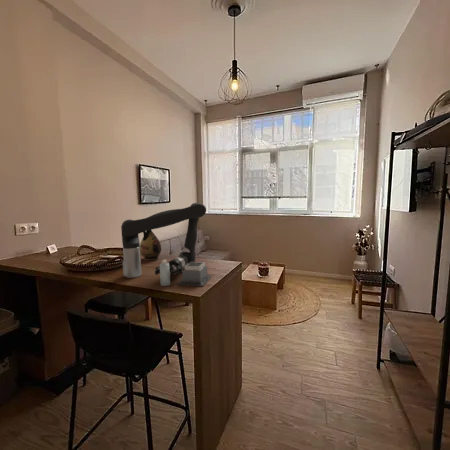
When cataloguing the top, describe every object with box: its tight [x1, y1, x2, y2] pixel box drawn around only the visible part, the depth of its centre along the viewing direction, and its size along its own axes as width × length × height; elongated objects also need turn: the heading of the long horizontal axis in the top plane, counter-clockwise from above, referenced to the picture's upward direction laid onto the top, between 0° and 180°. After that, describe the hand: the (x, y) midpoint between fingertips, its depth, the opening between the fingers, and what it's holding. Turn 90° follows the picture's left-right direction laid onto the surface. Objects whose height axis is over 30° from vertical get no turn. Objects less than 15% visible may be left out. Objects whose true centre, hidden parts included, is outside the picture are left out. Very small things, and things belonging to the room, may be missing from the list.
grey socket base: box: [177, 261, 213, 288], centre depth 136 cm, size 14×16×9 cm
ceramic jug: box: [139, 229, 162, 261], centre depth 183 cm, size 17×15×30 cm
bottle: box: [159, 259, 171, 287], centre depth 131 cm, size 5×5×13 cm
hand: (163, 273), depth 130 cm, fingers open, 8 cm apart
